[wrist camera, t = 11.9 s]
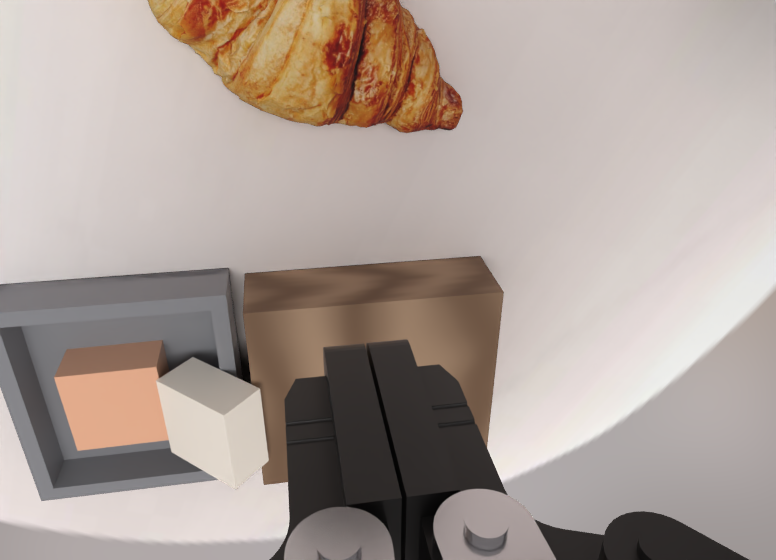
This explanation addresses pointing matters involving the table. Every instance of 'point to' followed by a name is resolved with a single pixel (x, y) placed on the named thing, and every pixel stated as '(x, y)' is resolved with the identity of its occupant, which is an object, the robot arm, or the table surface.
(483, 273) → the wood grain slab
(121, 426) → the terracotta tile
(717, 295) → the table surface
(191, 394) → the cream tile
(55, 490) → the box
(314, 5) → the croissant
